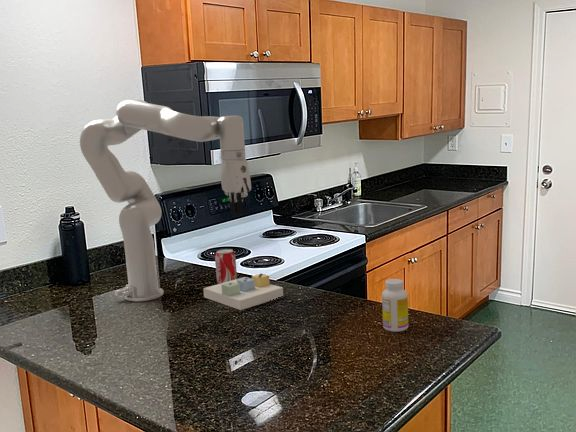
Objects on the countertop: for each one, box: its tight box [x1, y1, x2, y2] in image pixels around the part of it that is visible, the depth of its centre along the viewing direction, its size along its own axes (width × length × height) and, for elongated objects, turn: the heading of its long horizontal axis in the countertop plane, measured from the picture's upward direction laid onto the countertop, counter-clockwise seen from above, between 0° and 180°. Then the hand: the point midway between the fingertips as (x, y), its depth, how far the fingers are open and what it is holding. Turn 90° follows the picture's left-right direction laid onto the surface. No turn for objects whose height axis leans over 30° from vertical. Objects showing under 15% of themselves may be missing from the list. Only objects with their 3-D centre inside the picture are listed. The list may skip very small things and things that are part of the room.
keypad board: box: [203, 276, 284, 311], centre depth 189 cm, size 17×20×3 cm
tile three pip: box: [251, 273, 271, 288], centre depth 191 cm, size 4×4×4 cm
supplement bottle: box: [381, 278, 409, 333], centre depth 154 cm, size 7×7×13 cm
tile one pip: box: [221, 282, 240, 297], centre depth 184 cm, size 4×4×4 cm
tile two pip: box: [237, 277, 255, 292], centre depth 187 cm, size 4×4×4 cm
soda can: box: [214, 248, 238, 284], centre depth 204 cm, size 7×7×12 cm
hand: (237, 214), depth 185 cm, fingers closed
